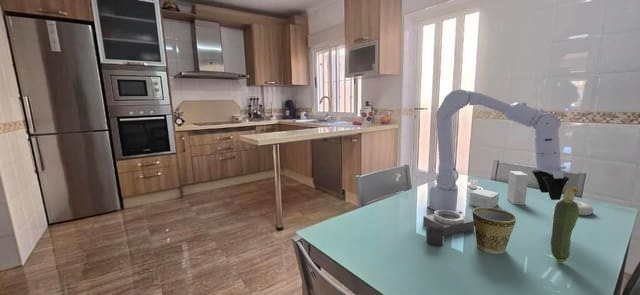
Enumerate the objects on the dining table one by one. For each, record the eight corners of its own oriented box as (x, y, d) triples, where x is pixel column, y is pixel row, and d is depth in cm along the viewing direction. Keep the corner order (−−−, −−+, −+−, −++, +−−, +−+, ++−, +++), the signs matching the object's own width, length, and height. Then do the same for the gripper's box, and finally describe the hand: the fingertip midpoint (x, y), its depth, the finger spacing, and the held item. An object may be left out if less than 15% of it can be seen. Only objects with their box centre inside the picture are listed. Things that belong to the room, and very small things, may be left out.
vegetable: (543, 256, 71) (553, 182, 68) (559, 255, 71) (569, 181, 68) (559, 266, 66) (570, 187, 63) (576, 265, 67) (588, 187, 64)
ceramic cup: (513, 262, 69) (517, 224, 67) (468, 251, 74) (471, 216, 72) (510, 240, 79) (514, 207, 78) (471, 232, 85) (474, 201, 83)
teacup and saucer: (467, 184, 133) (467, 176, 133) (485, 188, 128) (486, 180, 127) (460, 189, 127) (461, 180, 127) (479, 192, 122) (480, 184, 121)
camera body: (423, 224, 90) (423, 212, 90) (451, 218, 94) (451, 207, 94) (444, 236, 82) (444, 223, 81) (473, 229, 86) (474, 217, 85)
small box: (490, 210, 101) (491, 197, 101) (468, 204, 108) (469, 192, 107) (498, 205, 106) (499, 192, 105) (476, 200, 112) (477, 188, 112)
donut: (564, 205, 106) (549, 208, 102) (566, 196, 105) (550, 200, 102) (598, 214, 97) (582, 219, 93) (600, 205, 96) (584, 209, 93)
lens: (423, 240, 80) (423, 224, 79) (434, 237, 82) (435, 221, 81) (434, 247, 76) (435, 230, 75) (446, 244, 78) (447, 228, 77)
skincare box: (525, 205, 106) (529, 175, 104) (513, 204, 106) (516, 174, 105) (517, 199, 112) (520, 171, 110) (506, 199, 112) (509, 170, 110)
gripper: (576, 155, 75) (578, 203, 76) (553, 148, 88) (556, 189, 90) (544, 157, 78) (547, 203, 79) (527, 150, 91) (530, 189, 92)
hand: (550, 195), depth 85 cm, fingers open, 7 cm apart
